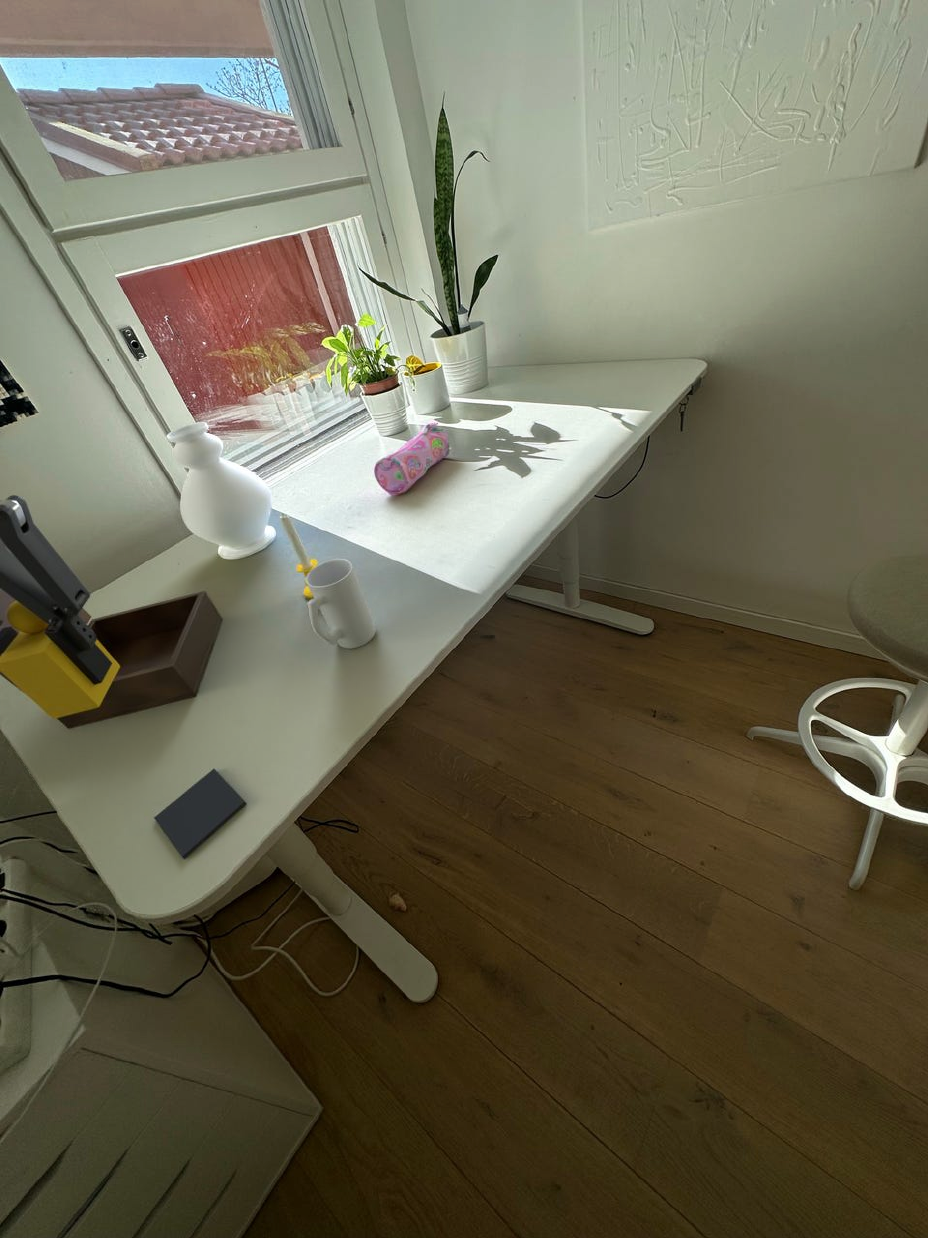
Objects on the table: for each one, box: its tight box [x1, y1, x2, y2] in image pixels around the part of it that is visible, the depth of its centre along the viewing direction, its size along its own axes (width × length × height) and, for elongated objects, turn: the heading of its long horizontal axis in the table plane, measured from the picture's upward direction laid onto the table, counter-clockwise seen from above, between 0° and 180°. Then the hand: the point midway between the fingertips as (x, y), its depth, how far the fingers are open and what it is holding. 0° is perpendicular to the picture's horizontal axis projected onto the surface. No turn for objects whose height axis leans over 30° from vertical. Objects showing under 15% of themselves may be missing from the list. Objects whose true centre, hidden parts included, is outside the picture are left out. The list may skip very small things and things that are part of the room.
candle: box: [278, 513, 319, 600], centre depth 88 cm, size 5×5×16 cm
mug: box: [305, 558, 377, 649], centre depth 76 cm, size 10×7×12 cm, turn 156°
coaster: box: [153, 768, 247, 860], centre depth 61 cm, size 8×8×1 cm
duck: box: [0, 600, 120, 720], centre depth 47 cm, size 4×7×10 cm, turn 10°
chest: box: [56, 590, 224, 729], centre depth 82 cm, size 20×19×6 cm
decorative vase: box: [166, 421, 277, 560], centre depth 105 cm, size 18×18×25 cm
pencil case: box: [373, 422, 451, 496], centre depth 119 cm, size 21×9×9 cm, turn 151°
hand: (76, 680), depth 49 cm, fingers closed on duck, 4 cm apart
